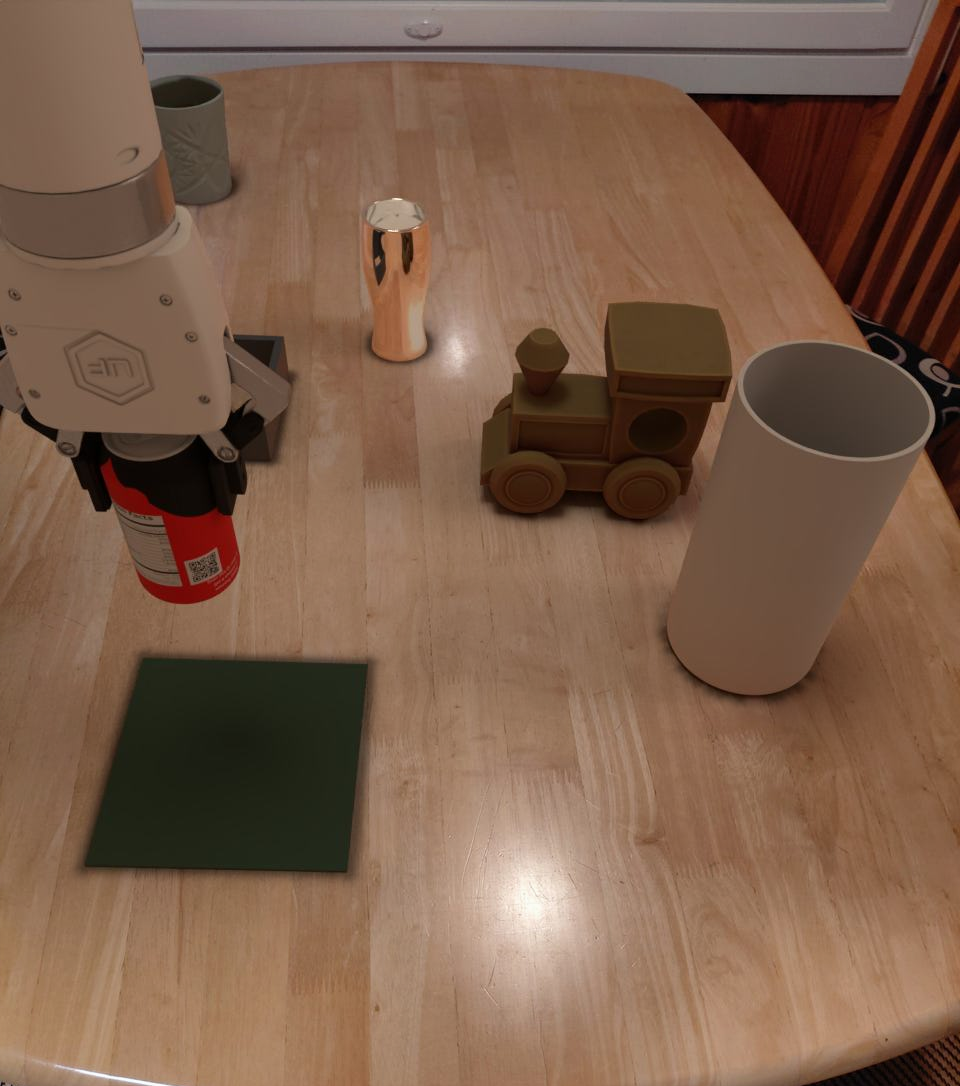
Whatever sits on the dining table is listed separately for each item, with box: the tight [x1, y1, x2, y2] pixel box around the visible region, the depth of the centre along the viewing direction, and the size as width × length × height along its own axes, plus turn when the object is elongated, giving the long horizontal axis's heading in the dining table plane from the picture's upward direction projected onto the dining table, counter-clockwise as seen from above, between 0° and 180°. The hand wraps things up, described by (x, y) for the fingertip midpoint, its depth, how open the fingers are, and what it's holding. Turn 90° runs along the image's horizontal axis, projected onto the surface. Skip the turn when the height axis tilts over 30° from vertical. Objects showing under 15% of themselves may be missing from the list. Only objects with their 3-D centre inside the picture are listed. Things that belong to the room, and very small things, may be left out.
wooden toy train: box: [479, 300, 733, 520], centre depth 86 cm, size 20×11×17 cm, turn 88°
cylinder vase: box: [666, 339, 936, 696], centre depth 72 cm, size 12×12×25 cm
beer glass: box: [360, 197, 432, 362], centre depth 100 cm, size 7×7×15 cm
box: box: [232, 333, 290, 463], centre depth 95 cm, size 14×14×5 cm
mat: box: [84, 657, 368, 873], centre depth 72 cm, size 18×18×1 cm
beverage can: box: [99, 432, 241, 605], centre depth 57 cm, size 6×6×12 cm
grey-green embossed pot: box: [149, 74, 233, 205], centre depth 121 cm, size 10×10×12 cm
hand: (169, 495), depth 56 cm, fingers closed on beverage can, 6 cm apart
